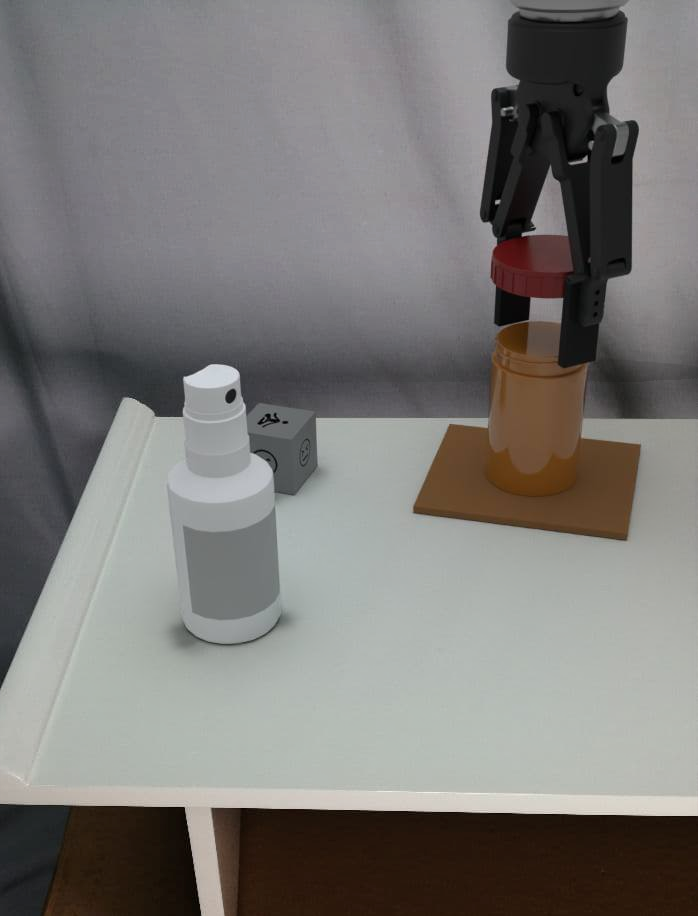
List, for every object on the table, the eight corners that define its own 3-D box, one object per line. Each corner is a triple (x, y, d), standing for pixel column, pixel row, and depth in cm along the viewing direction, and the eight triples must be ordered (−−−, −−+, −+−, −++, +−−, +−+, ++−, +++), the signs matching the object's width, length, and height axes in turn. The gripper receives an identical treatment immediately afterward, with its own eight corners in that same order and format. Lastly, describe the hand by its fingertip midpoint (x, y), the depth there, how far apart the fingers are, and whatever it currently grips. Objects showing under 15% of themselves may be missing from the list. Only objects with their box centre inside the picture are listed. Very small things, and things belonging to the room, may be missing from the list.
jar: (581, 457, 96) (596, 323, 89) (571, 501, 90) (585, 362, 83) (493, 447, 98) (501, 315, 91) (477, 490, 92) (484, 353, 85)
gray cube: (262, 456, 99) (259, 402, 96) (317, 465, 97) (315, 411, 95) (237, 484, 95) (233, 430, 93) (294, 495, 94) (291, 439, 91)
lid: (546, 251, 89) (548, 226, 88) (628, 279, 84) (630, 253, 83) (467, 276, 86) (468, 251, 85) (547, 308, 80) (549, 281, 79)
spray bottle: (230, 659, 76) (208, 412, 67) (161, 618, 81) (131, 379, 71) (302, 612, 80) (291, 372, 71) (233, 575, 85) (214, 343, 75)
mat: (640, 450, 97) (641, 444, 97) (626, 540, 86) (627, 533, 86) (449, 429, 102) (449, 423, 101) (413, 512, 91) (413, 506, 90)
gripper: (436, -5, 82) (430, 304, 94) (618, 42, 66) (582, 407, 78) (528, -16, 84) (510, 287, 97) (726, 26, 68) (674, 384, 80)
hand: (542, 341), depth 87 cm, fingers closed on lid, 8 cm apart
